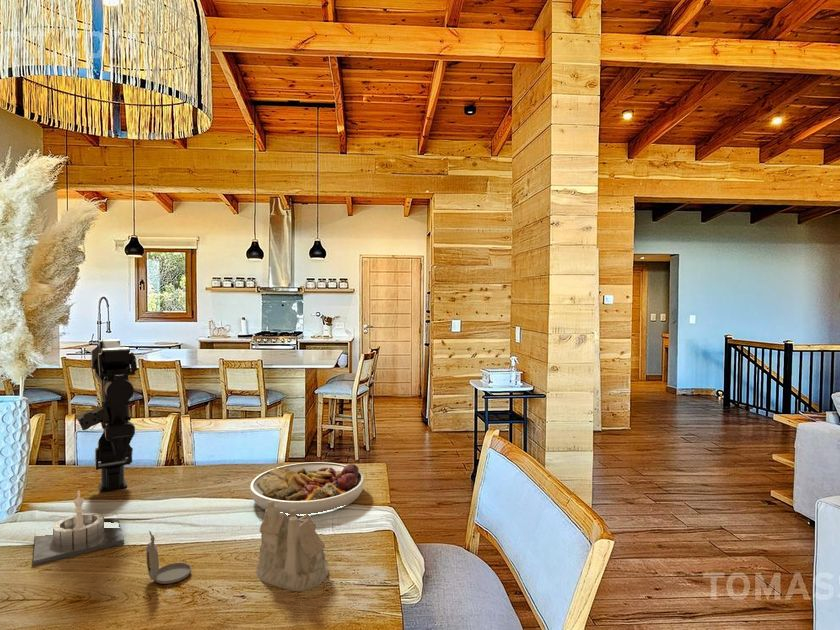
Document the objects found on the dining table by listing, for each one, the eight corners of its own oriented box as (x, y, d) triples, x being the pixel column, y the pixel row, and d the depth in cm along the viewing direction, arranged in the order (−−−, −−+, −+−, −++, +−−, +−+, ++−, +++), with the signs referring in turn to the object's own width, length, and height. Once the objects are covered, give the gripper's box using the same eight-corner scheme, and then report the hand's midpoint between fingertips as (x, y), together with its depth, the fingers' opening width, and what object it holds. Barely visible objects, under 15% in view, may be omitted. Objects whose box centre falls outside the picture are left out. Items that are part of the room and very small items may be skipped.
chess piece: (65, 541, 112) (64, 496, 112) (66, 532, 117) (65, 489, 116) (92, 536, 115) (91, 492, 115) (92, 527, 119) (91, 485, 119)
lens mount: (35, 535, 118) (35, 517, 117) (117, 517, 127) (116, 501, 127) (33, 565, 104) (32, 546, 104) (124, 543, 114) (123, 526, 114)
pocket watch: (198, 570, 103) (198, 521, 103) (165, 594, 95) (164, 540, 95) (166, 563, 106) (165, 515, 105) (131, 585, 98) (130, 533, 97)
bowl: (257, 531, 121) (257, 498, 121) (245, 486, 148) (244, 459, 148) (378, 510, 133) (378, 479, 133) (346, 472, 160) (346, 447, 160)
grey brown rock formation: (298, 597, 94) (299, 514, 94) (240, 574, 103) (241, 497, 103) (354, 565, 107) (355, 492, 108) (298, 547, 116) (299, 479, 117)
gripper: (77, 393, 136) (78, 452, 136) (80, 406, 120) (81, 472, 121) (126, 389, 142) (127, 445, 143) (134, 401, 127) (135, 464, 127)
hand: (117, 456), depth 133 cm, fingers open, 9 cm apart
